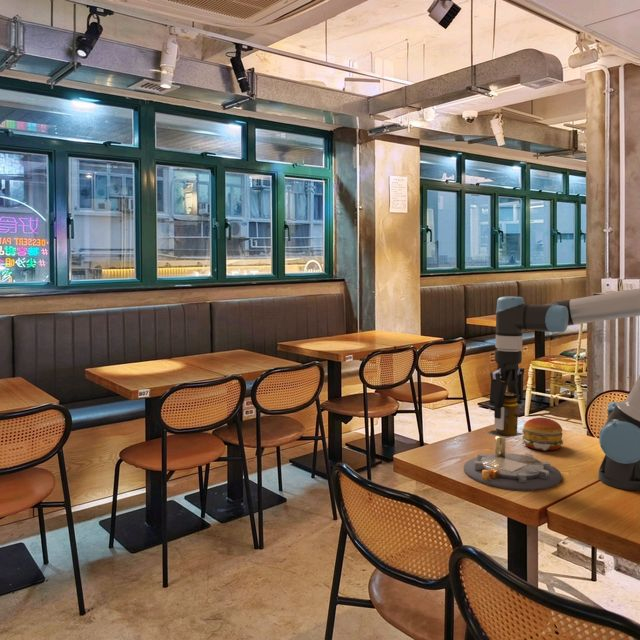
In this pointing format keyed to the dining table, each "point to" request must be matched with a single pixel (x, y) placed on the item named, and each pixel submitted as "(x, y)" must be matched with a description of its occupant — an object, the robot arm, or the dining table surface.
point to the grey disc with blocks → (511, 464)
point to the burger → (542, 434)
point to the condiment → (508, 417)
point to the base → (512, 484)
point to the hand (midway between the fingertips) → (505, 426)
